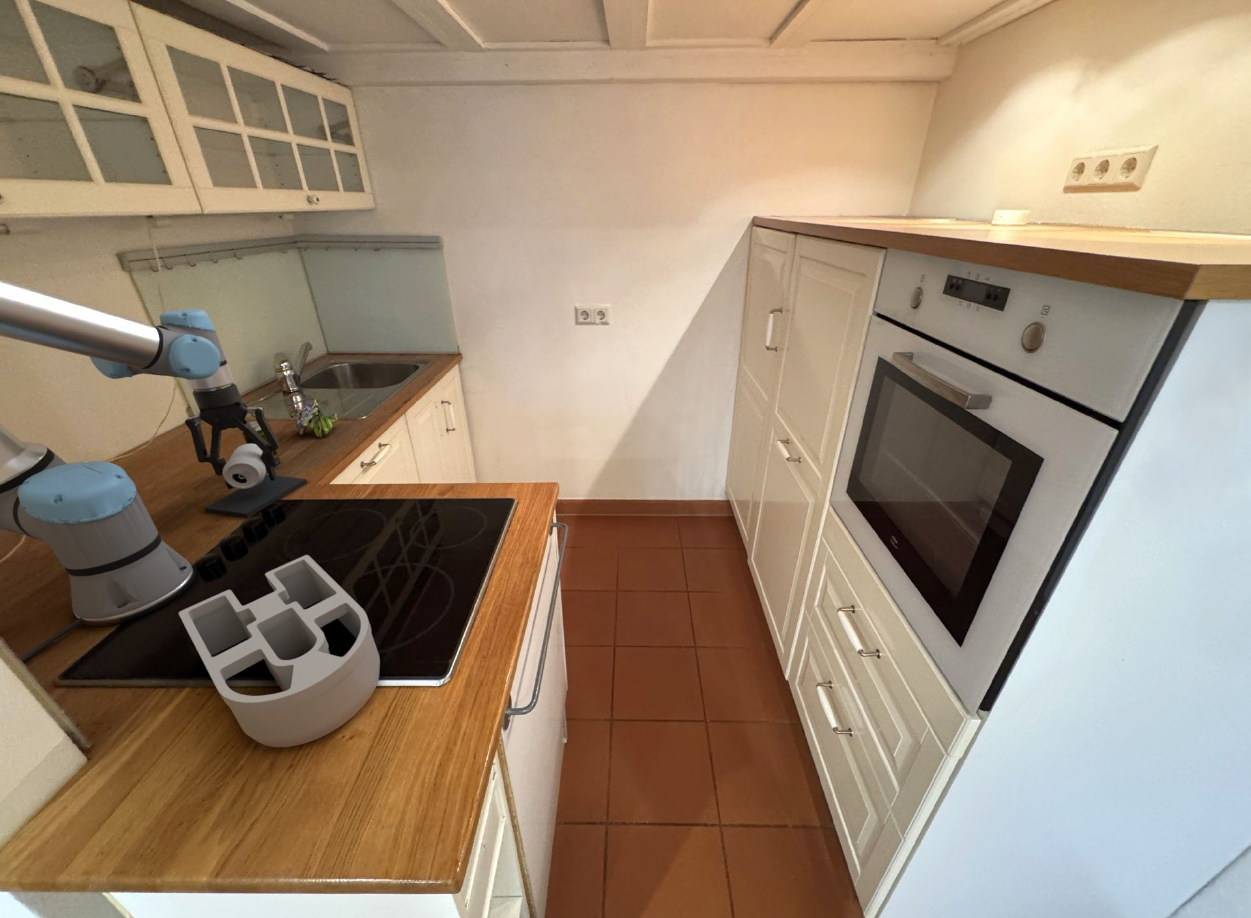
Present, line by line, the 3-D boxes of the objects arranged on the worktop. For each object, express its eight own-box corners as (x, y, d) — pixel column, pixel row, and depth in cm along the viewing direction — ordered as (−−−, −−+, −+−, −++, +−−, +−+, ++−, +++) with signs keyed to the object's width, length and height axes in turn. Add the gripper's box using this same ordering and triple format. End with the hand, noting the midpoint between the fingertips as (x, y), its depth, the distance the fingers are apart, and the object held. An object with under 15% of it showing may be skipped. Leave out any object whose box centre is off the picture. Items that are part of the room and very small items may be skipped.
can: (225, 459, 116) (211, 479, 106) (248, 436, 116) (236, 453, 106) (257, 477, 120) (247, 498, 110) (279, 454, 121) (271, 473, 111)
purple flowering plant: (310, 450, 152) (287, 417, 151) (345, 434, 157) (324, 401, 157) (306, 441, 142) (282, 405, 141) (344, 424, 148) (322, 389, 147)
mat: (247, 517, 108) (246, 513, 107) (205, 511, 110) (203, 507, 110) (307, 482, 121) (306, 478, 121) (267, 478, 124) (266, 474, 124)
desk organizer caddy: (323, 596, 84) (307, 554, 80) (406, 684, 67) (391, 637, 64) (203, 657, 73) (177, 612, 69) (267, 781, 56) (238, 731, 52)
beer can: (285, 461, 133) (269, 419, 127) (275, 470, 128) (259, 427, 122) (263, 463, 132) (246, 421, 127) (252, 473, 127) (235, 429, 122)
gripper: (272, 374, 111) (305, 466, 121) (158, 389, 103) (203, 485, 114) (267, 383, 105) (302, 478, 115) (145, 400, 97) (194, 500, 107)
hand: (253, 482), depth 114 cm, fingers closed on can, 7 cm apart
